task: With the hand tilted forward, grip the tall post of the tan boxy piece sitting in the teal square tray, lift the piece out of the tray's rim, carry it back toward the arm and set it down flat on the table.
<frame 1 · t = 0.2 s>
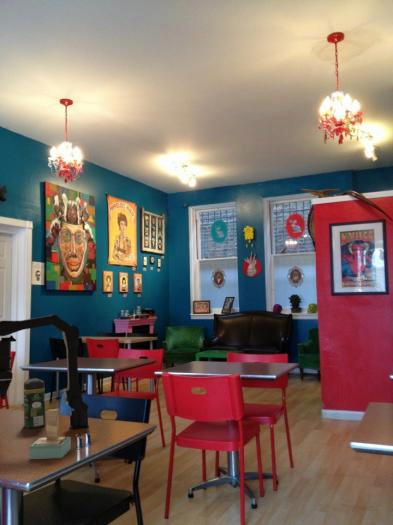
hand: (2, 396, 180), 15 cm above the table, tool pointing down, fingers open, 9 cm apart
teal square tray: (50, 453, 154), on the table
coffee jar: (34, 426, 195), on the table
tan boxy piece: (52, 442, 156), point 3 cm above the table, touching teal square tray
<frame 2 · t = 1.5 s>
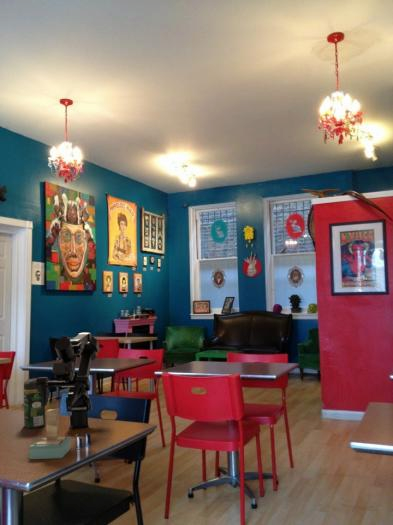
hand: (58, 404, 165), 13 cm above the table, tool tilted 45°, fingers open, 9 cm apart
nothing on the table moved.
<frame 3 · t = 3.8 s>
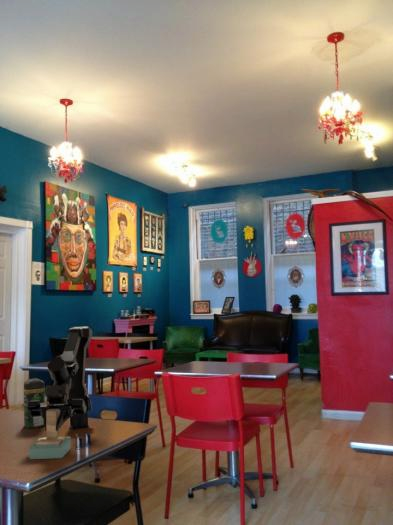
hand: (51, 430, 155), 7 cm above the table, tool tilted 45°, fingers closed on tan boxy piece, 3 cm apart
tan boxy piece: (52, 442, 156), point 3 cm above the table, touching gripper, teal square tray
everything else where it was.
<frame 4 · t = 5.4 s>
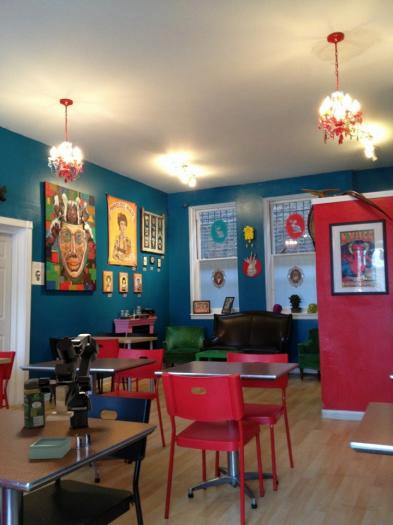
hand: (60, 405, 166), 13 cm above the table, tool tilted 45°, fingers closed on tan boxy piece, 3 cm apart
tan boxy piece: (62, 416, 168), point 9 cm above the table, touching gripper
everything else where it was.
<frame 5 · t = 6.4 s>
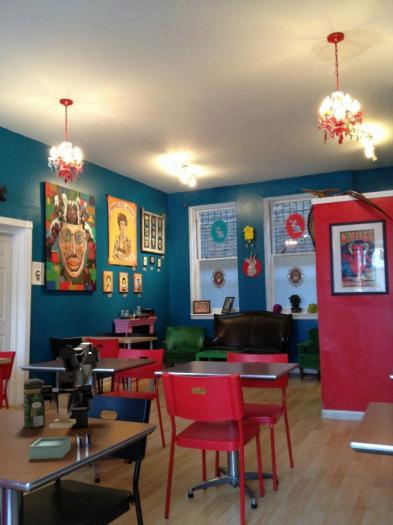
hand: (63, 413, 169), 10 cm above the table, tool tilted 45°, fingers closed on tan boxy piece, 3 cm apart
tan boxy piece: (64, 423, 170), point 6 cm above the table, touching gripper
everything else where it was.
when the fingers open (6 cm above the table, at t = 7.2 s): tan boxy piece drops 3 cm, on the table.
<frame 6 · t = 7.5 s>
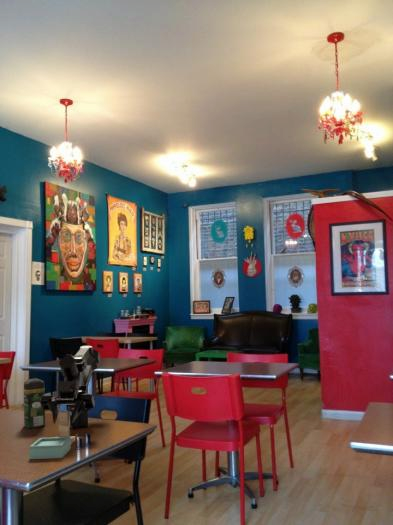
hand: (63, 422, 168), 7 cm above the table, tool tilted 45°, fingers open, 6 cm apart
tan boxy piece: (64, 441, 169), on the table
everything else where it was.
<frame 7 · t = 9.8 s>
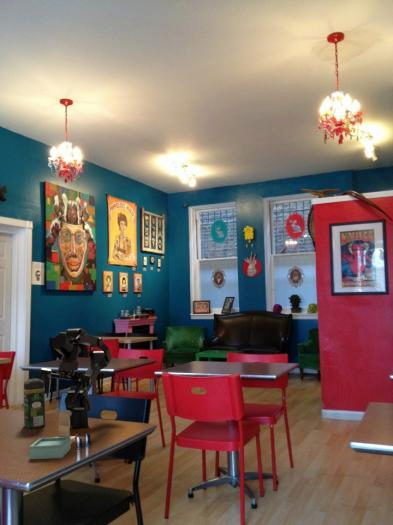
hand: (60, 399, 177), 13 cm above the table, tool tilted 30°, fingers open, 9 cm apart
nothing on the table moved.
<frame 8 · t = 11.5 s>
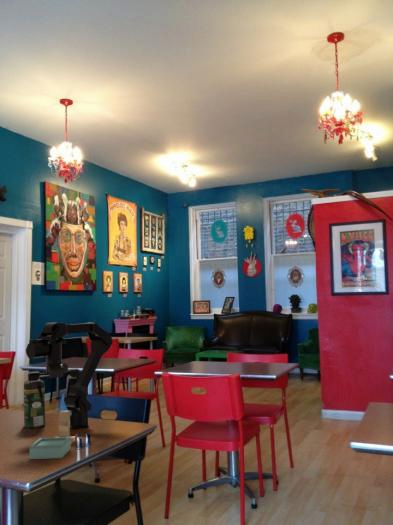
hand: (54, 397, 182), 13 cm above the table, tool pointing down, fingers open, 9 cm apart
nothing on the table moved.
at the end: tan boxy piece on the table; tan boxy piece tilted 0°; tan boxy piece moved 13.5 cm from its start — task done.
